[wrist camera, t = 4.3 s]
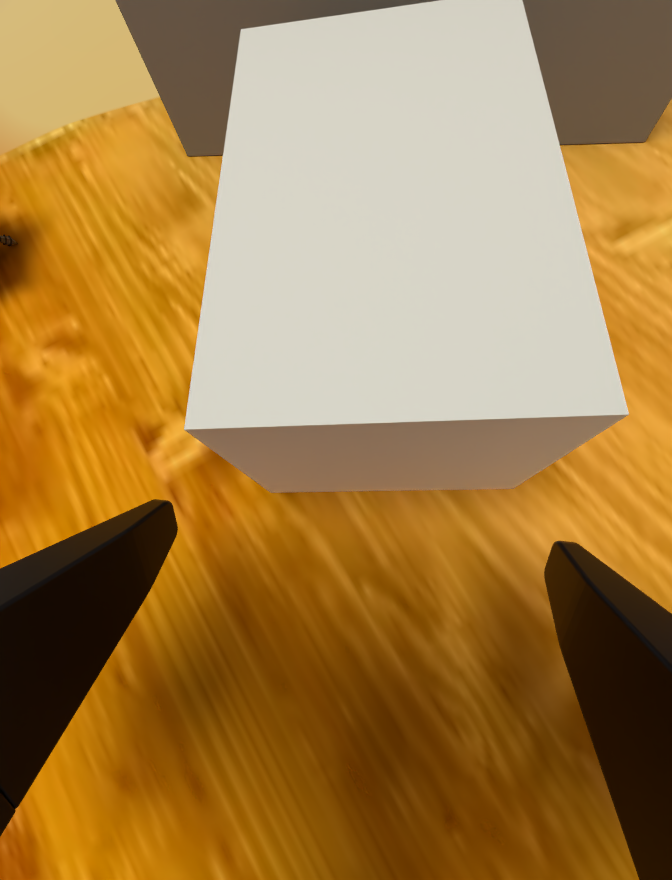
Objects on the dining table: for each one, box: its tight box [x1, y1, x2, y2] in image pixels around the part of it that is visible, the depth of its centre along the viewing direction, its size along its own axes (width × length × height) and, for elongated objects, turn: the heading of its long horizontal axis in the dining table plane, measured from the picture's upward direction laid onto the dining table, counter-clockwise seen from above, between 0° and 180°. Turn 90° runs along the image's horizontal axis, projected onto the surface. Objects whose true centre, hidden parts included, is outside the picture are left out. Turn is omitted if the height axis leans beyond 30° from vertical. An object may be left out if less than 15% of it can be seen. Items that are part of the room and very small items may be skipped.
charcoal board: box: [116, 0, 672, 156], centre depth 18 cm, size 26×2×10 cm, turn 83°
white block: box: [184, 0, 629, 493], centre depth 15 cm, size 16×10×8 cm, turn 0°
